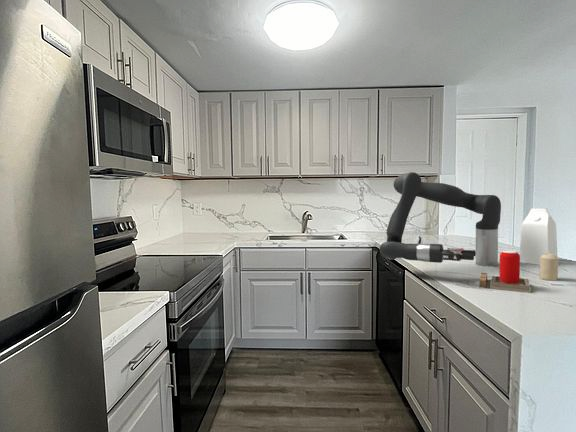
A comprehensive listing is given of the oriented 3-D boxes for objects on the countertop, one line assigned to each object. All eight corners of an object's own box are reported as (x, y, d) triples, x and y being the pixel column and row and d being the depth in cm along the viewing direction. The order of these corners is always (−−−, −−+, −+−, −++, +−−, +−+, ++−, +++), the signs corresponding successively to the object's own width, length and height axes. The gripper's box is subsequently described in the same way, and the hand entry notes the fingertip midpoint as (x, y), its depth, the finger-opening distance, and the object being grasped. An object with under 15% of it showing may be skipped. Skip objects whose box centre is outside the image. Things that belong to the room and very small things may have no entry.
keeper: (491, 281, 134) (491, 275, 134) (528, 284, 127) (528, 278, 127) (490, 288, 124) (490, 282, 123) (530, 292, 117) (530, 286, 117)
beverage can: (500, 280, 130) (500, 249, 129) (519, 282, 126) (520, 250, 125) (498, 284, 125) (499, 252, 124) (519, 286, 121) (519, 253, 120)
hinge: (406, 247, 222) (412, 232, 220) (414, 249, 221) (419, 235, 220) (411, 251, 205) (416, 235, 204) (418, 254, 204) (424, 238, 203)
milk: (557, 262, 164) (558, 208, 162) (548, 265, 157) (549, 209, 155) (529, 258, 173) (529, 207, 172) (518, 262, 167) (519, 209, 165)
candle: (540, 276, 138) (540, 252, 138) (557, 278, 135) (558, 253, 134) (539, 279, 134) (539, 254, 133) (557, 281, 131) (557, 255, 130)
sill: (481, 278, 137) (481, 272, 137) (487, 279, 136) (487, 273, 136) (479, 287, 125) (479, 280, 125) (485, 288, 124) (485, 281, 124)
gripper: (426, 246, 134) (473, 248, 125) (432, 241, 146) (475, 242, 137) (426, 265, 134) (473, 268, 126) (433, 258, 146) (476, 261, 138)
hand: (474, 255), depth 132 cm, fingers open, 8 cm apart
